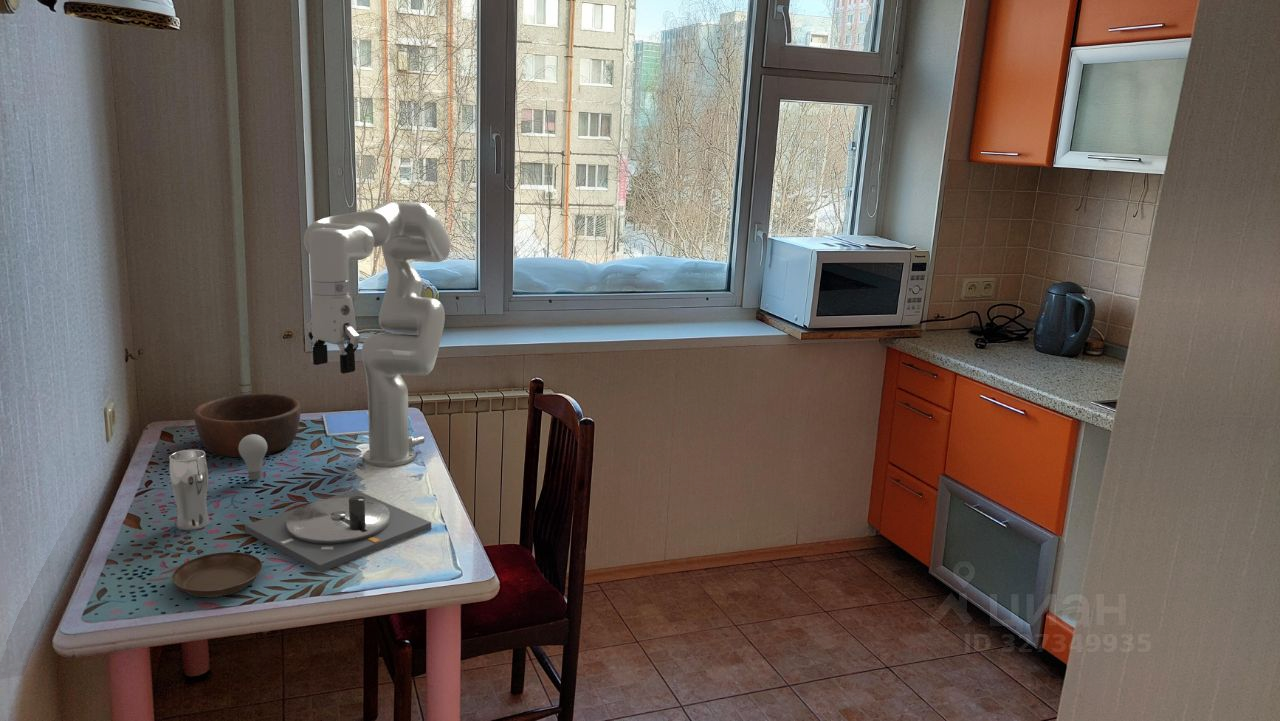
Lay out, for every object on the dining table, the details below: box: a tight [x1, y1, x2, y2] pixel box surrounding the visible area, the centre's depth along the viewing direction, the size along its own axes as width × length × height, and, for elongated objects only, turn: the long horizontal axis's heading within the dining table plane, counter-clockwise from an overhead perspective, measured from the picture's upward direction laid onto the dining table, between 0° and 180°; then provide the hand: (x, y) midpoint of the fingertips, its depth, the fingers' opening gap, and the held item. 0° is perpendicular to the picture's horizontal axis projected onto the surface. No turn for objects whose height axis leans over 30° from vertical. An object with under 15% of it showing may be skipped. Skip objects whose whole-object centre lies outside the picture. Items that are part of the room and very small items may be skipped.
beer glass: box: [168, 449, 210, 531], centre depth 185 cm, size 7×7×15 cm
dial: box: [286, 496, 390, 544], centre depth 185 cm, size 20×20×7 cm
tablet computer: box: [322, 410, 369, 437], centre depth 252 cm, size 19×13×1 cm, turn 22°
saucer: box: [171, 551, 264, 598], centre depth 164 cm, size 15×15×3 cm
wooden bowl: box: [193, 393, 302, 458], centre depth 232 cm, size 25×25×10 cm
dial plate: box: [244, 489, 432, 573], centre depth 187 cm, size 26×26×2 cm
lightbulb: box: [238, 434, 267, 482], centre depth 209 cm, size 6×6×11 cm
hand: (334, 367), depth 194 cm, fingers open, 9 cm apart
